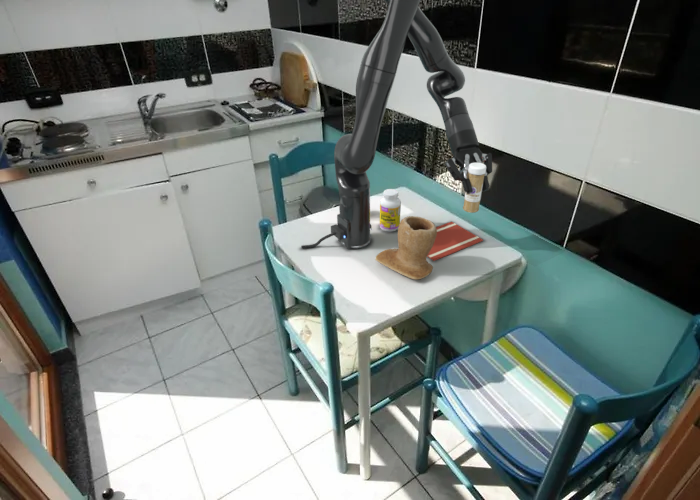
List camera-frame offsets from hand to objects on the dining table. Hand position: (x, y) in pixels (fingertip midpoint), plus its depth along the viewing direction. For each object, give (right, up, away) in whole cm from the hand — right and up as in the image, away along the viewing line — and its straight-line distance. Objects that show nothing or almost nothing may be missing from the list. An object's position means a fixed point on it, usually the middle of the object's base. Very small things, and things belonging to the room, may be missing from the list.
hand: (478, 191), depth 114 cm
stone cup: (-19, -21, +5) cm, 28 cm away
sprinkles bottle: (0, -5, +5) cm, 7 cm away
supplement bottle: (-22, -9, +24) cm, 34 cm away
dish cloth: (-6, -13, +16) cm, 22 cm away
